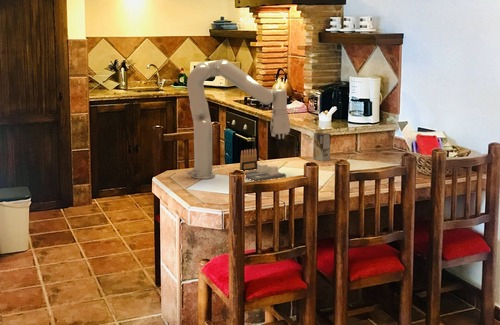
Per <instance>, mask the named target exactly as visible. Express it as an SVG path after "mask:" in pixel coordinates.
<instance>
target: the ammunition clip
mask: <svg viewBox="0 0 500 325" xmlns="http://www.w3.org/2000/svg"><path fill="white" fill-rule="evenodd" d="M257 157H258V156H257V149H256V147H255V149H254V148H252V149H248V148H247V149H244V150H241V152H240V163H239V171H240V170H243V171H242V172H246V171H245V170H249V171H255V170H254V169H256V170H257V164H258V159H257Z"/></svg>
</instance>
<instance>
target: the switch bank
mask: <svg viewBox="0 0 500 325" xmlns="http://www.w3.org/2000/svg"><path fill="white" fill-rule="evenodd" d="M244 172H245V175H246V178H248V179H247V180H249V179H251V180H250V181H252V180H254V181H256V182H259V181H258V180H262V181H267V180H268V179H269V180H275V179H281V178H286V177H287V176H286V173H282V172H279V171H278V174H276V175H268V172H265V173H258V172H257V170H250V171H244ZM246 178H245V179H246ZM274 178H275V179H274ZM254 181H253V182H254Z"/></svg>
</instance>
